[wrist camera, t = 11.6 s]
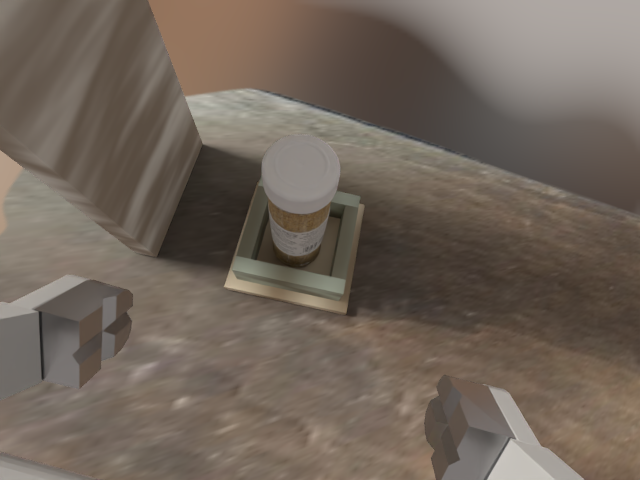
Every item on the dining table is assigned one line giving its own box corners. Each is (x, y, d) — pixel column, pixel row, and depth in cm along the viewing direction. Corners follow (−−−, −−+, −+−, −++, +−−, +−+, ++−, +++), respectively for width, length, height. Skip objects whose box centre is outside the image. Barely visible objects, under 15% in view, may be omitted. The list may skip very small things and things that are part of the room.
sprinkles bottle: (307, 216, 32) (319, 120, 20) (329, 256, 31) (356, 181, 19) (263, 235, 31) (247, 146, 19) (284, 277, 30) (281, 212, 18)
